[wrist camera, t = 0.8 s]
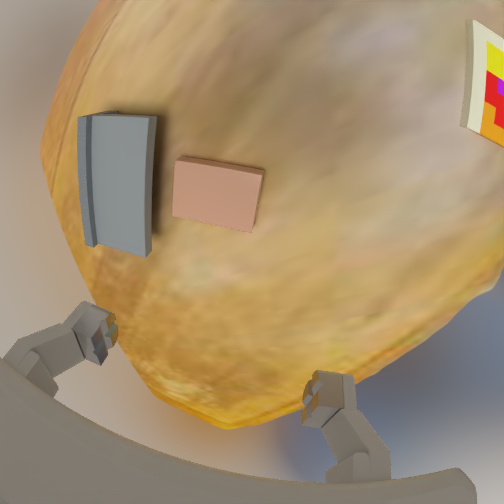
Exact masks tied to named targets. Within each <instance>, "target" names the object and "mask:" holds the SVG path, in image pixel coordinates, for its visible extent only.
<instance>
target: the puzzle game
mask: <svg viewBox="0 0 504 504" xmlns="http://www.w3.org/2000/svg"><path fill="white" fill-rule="evenodd" d="M460 126H462V127H464V128H466V129H469V130H471V131H473V132H475V133H477V134H479V135H481V136H483V137H485V138H487V139H489V140H491V141H493V142H495V143H496V144H498V145H500V146H502V147H504V39H503V38H501V37H500V36H498V35H497V34H495V33H494V32H492V31H491V30H489V29H488V28H486V27H485V26H483V25H482V24H480V23H478V22H477V21H475V20H473V19H471V20H468V21H466V75H465V88H464V98H463V106H462V114H461V120H460Z"/></svg>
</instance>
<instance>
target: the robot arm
mask: <svg viewBox="0 0 504 504" xmlns="http://www.w3.org/2000/svg"><path fill="white" fill-rule="evenodd" d="M115 320H116V317H115V314H114V313H112V312H109V311H107V310H105V309H103V308H100V307H98V306H96V305H94V304H91V303H89V302H87V301H83V302H81V303H80V304H79V305H78V306H77V308H76V309H75V310H74V311H73V312H72V313H71V315H70V316H69V317H68V318H67V319H66V320H65V322H64V323H63V324H60V323H59V324H57V325H54V326H52V327H49V328H46V329H44V330H41V331H39V332H36V333H34V334H31V335H29V336H26V337H23V338H21V339H18V340H17V342H16V343H15V344H14V345H13V346H12V348H11V349H10V350H9V351H8V353H7V354H6V355H5V356H4V358H3V359H1V358H0V504H477V493H476V488H475V485H474V484H473V483H472V481H471V480H470V479H469V478H468V476H466V474H465V473H464V472H463V471H462V470H461V469H459V468H452V469H447V470H443V471H439V472H435V473H430V474H425V475H419V476H414V477H408V478H401V479H393V480H391V464H390V451H389V450H388V448H387V447H386V445H385V444H384V443H383V441H382V440H381V439H380V437H379V436H378V434H377V433H376V432H375V431H374V429H373V428H372V426H371V425H370V423H369V422H368V421H367V419H366V418H365V417H364V415H363V414H362V412H361V411H359V410H357V405H356V393H355V382H354V377H353V375H348V374H340V373H335V372H328V371H321V370H316V371H315V372H314V373H313V375H312V380H309V381H308V383H307V384H306V386H305V389H304V393H303V401H302V402H303V404H304V405H305V408H304V409H303V410H302V415H301V425H302V426H308V427H315V428H321V431H322V433H323V435H324V437H325V439H326V441H327V443H328V445H329V447H330V449H331V451H332V452H333V455H334V456H335V459H336V460H337V462H338V464H337V465H335V466H333V467H332V468H330V469H328V470H327V471H326V475H325V483H315V482H298V481H286V480H278V479H269V478H263V477H256V476H250V475H244V474H239V473H234V472H229V471H225V470H220V469H216V468H212V467H208V466H204V465H201V464H197V463H194V462H190V461H187V460H183V459H180V458H177V457H174V456H171V455H168V454H165V453H163V452H160V451H157V450H154V449H151V448H149V447H147V446H144V445H142V444H139V443H137V442H134V441H132V440H130V439H127V438H125V437H123V436H121V435H118V434H116V433H114V432H112V431H110V430H108V429H106V428H104V427H102V426H100V425H98V424H96V423H95V422H93V421H91V420H89V419H87V418H85V417H84V416H81V415H80V414H78V413H77V412H75V411H73V410H71V409H70V408H68V407H66V406H65V405H63V404H62V403H60V402H58V401H57V400H55V399H54V396H55V394H56V393H57V391H58V386H57V384H56V382H55V381H54V379H53V378H54V377H55V376H57V375H59V374H61V373H62V372H64V371H66V370H68V369H69V368H71V367H73V366H75V365H76V364H78V363H80V362H82V361H83V360H85V359H87V360H89V361H91V362H93V363H96V364H98V365H100V366H101V365H102V363H103V362H104V360H105V359H106V357H107V356H108V349H110V348H112V347H113V346H114V345H115V343H116V341H117V338H118V327H117V325H116V324H115V323H114V322H115Z"/></svg>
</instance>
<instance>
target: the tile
mask: <svg viewBox="0 0 504 504" xmlns="http://www.w3.org/2000/svg"><path fill="white" fill-rule="evenodd" d="M264 171H265V170H260V169H255V168H250V167H245V166H240V165H234V164H229V163H223V162H217V161H211V160H205V159H199V158H192V157H185V156H182V157H180V158H178V159H176V160H175V168H174V185H173V208H172V216H174V217H179V218H184V219H188V220H193V221H198V222H202V223H207V224H212V225H216V226H221V227H225V228H230V229H234V230H239V231H243V232H248V233H252V230H253V227H254V224H255V218H256V213H257V208H258V203H259V197H260V192H261V187H262V181H263V176H264Z"/></svg>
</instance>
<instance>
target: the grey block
mask: <svg viewBox="0 0 504 504" xmlns="http://www.w3.org/2000/svg"><path fill="white" fill-rule="evenodd" d="M156 123H157V116H146V115H127V114H118V111H105V112H100V113H95V114H91V115H86V116H82V117H78V134H77V150H78V178H79V192H80V204H81V213H82V221H83V229H84V236H85V242H86V245H87V246H91V247H95V246H96V245H97V244H101V245H104V246H108V247H111V248H114V249H117V250H121V251H124V252H128V253H131V254H134V255H138V256H141V257H145V258H146V257H147V256H148V254H149V253H150V252H151V251H152V235H151V213H152V177H153V159H154V145H155V133H156Z"/></svg>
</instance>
